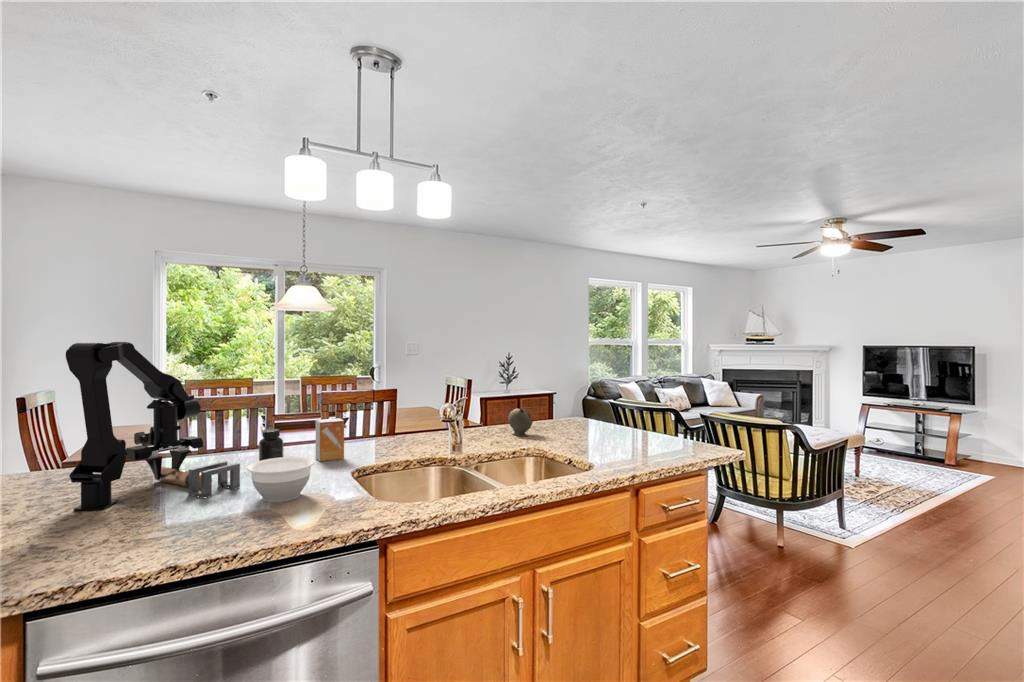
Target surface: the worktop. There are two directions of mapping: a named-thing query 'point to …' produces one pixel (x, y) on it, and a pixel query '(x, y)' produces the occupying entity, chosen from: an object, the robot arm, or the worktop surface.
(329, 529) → the worktop surface
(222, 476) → the collar bracket
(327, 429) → the small box
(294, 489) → the bowl
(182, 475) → the brown rounded cylinder
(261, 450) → the supplement bottle
